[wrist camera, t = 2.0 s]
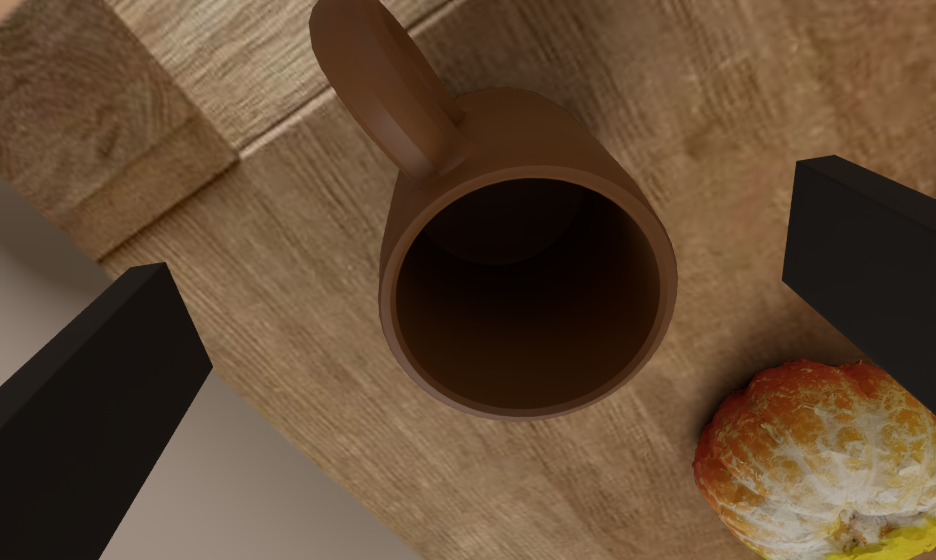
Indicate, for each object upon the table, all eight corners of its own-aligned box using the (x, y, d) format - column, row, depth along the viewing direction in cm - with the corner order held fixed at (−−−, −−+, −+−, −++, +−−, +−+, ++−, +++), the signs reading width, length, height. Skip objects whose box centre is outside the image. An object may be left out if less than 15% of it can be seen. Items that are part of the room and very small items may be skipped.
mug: (276, 55, 19) (153, 114, 11) (459, -90, 18) (474, -147, 9) (469, 301, 24) (483, 468, 16) (627, 207, 23) (733, 341, 14)
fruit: (922, 304, 25) (1087, 474, 19) (862, 420, 32) (969, 568, 27) (672, 370, 26) (761, 551, 20) (669, 468, 33) (734, 621, 28)
